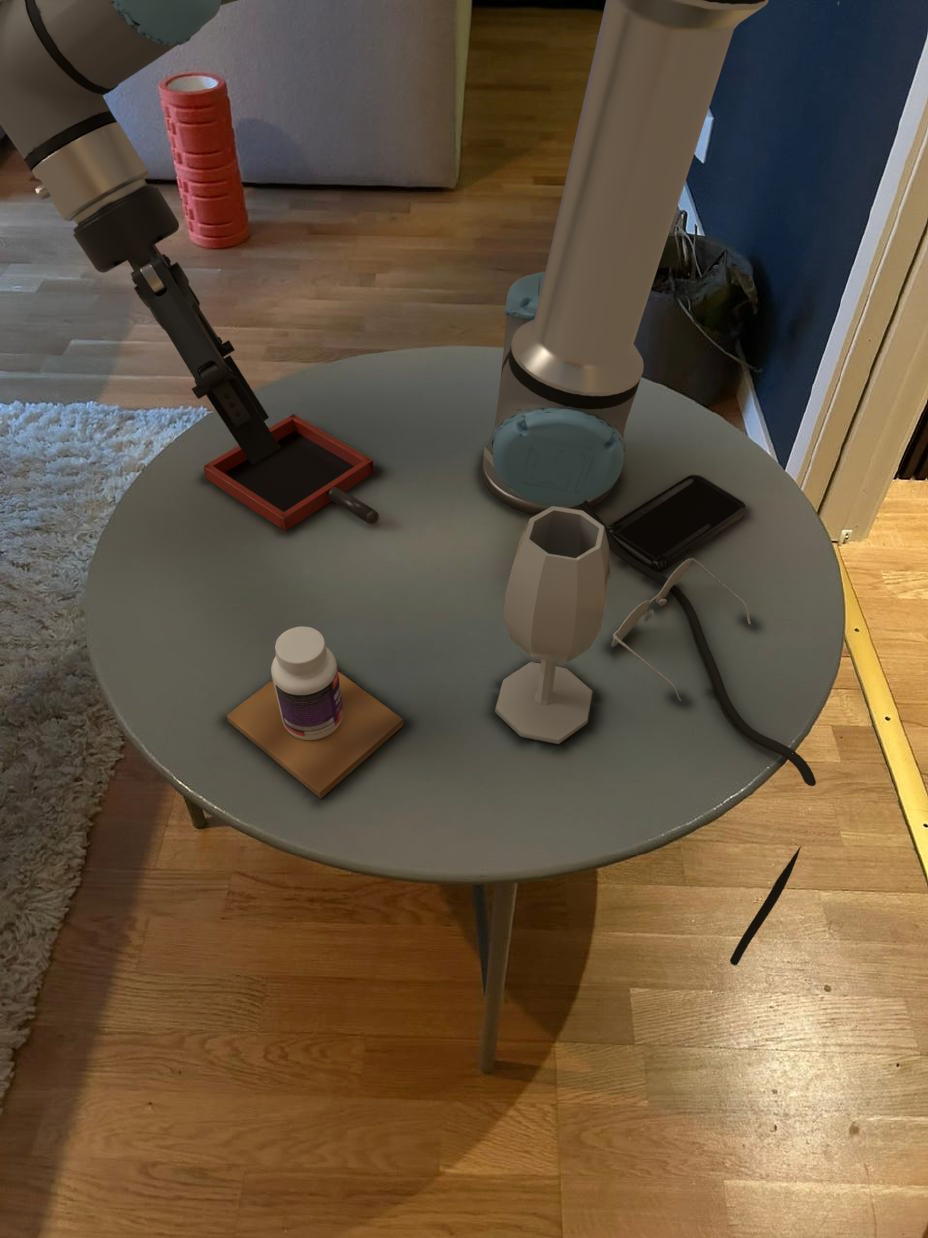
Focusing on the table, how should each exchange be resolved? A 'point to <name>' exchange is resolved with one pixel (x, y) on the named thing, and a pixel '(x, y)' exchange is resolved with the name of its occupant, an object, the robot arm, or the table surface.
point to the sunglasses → (642, 608)
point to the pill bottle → (307, 684)
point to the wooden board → (326, 756)
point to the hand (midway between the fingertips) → (261, 439)
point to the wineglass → (554, 621)
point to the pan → (295, 475)
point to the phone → (676, 522)
